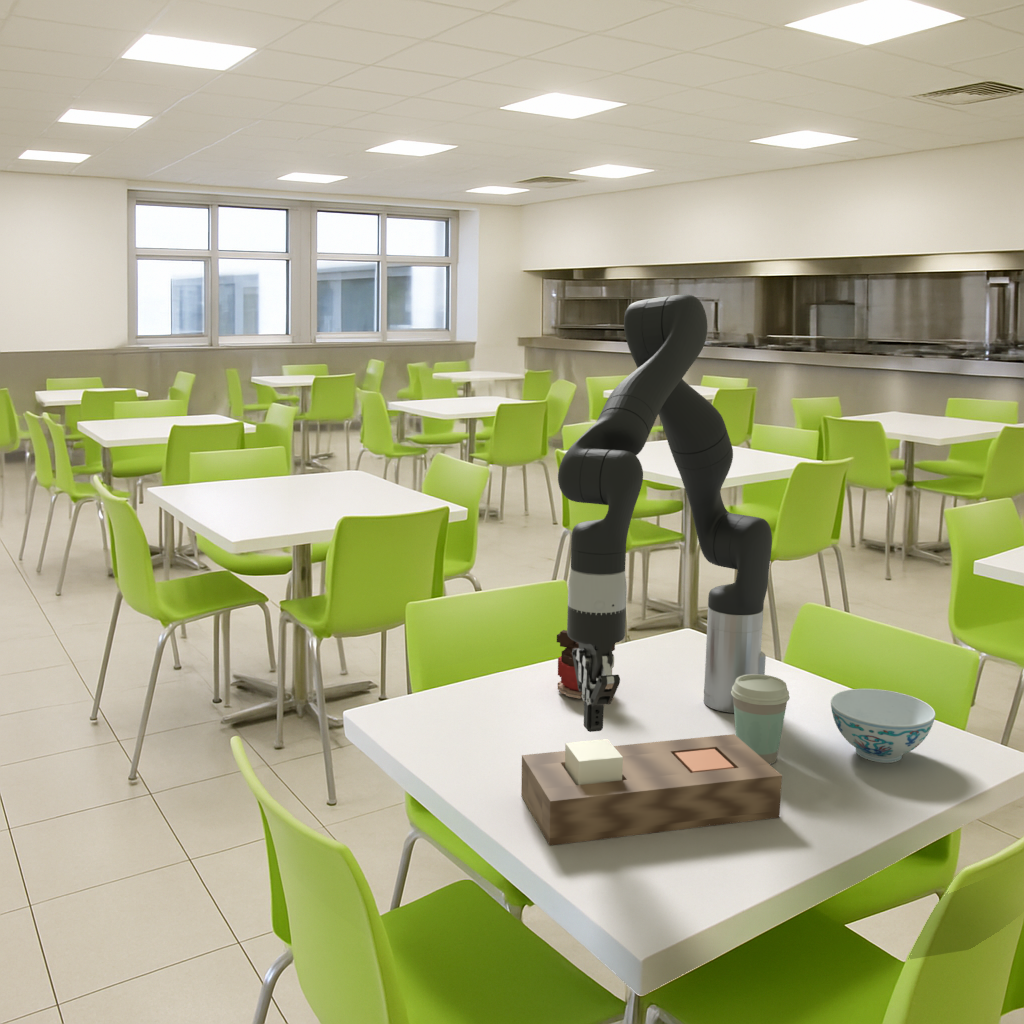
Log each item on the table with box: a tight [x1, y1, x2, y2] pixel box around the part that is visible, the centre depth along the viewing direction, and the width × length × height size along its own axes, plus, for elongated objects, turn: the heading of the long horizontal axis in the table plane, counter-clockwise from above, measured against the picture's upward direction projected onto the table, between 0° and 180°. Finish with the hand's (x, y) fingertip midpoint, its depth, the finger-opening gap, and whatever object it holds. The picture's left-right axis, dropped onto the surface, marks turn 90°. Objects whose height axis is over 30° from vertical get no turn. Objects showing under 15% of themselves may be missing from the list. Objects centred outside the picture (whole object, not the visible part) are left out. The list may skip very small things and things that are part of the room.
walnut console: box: [521, 733, 783, 846], centre depth 138 cm, size 32×14×6 cm, turn 104°
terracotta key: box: [675, 749, 734, 773], centre depth 139 cm, size 6×6×4 cm
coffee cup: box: [731, 674, 790, 765], centre depth 153 cm, size 8×8×12 cm
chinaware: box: [830, 688, 936, 764], centre depth 155 cm, size 15×15×8 cm
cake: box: [556, 629, 616, 699], centre depth 179 cm, size 11×9×18 cm
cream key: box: [564, 738, 623, 785], centre depth 135 cm, size 6×6×4 cm
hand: (593, 729), depth 134 cm, fingers closed
